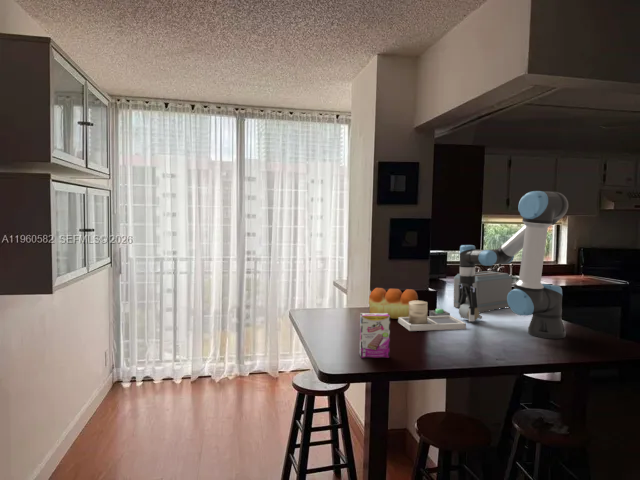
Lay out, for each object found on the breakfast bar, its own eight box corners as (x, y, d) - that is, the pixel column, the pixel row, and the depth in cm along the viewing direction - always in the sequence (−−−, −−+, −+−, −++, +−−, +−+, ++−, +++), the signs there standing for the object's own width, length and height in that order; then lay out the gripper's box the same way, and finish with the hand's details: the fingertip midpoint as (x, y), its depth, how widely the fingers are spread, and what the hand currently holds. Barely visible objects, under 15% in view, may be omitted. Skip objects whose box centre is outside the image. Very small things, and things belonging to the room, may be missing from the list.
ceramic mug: (467, 321, 217) (468, 306, 217) (458, 318, 225) (458, 303, 225) (485, 320, 220) (486, 305, 220) (475, 317, 228) (476, 302, 228)
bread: (418, 315, 238) (418, 288, 237) (415, 320, 226) (415, 292, 225) (373, 312, 246) (373, 286, 245) (368, 317, 234) (368, 289, 233)
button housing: (449, 319, 226) (449, 313, 226) (435, 320, 225) (435, 313, 225) (443, 316, 234) (443, 310, 234) (429, 317, 233) (429, 310, 233)
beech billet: (430, 324, 209) (430, 304, 208) (411, 325, 208) (411, 304, 208) (423, 320, 218) (424, 300, 217) (406, 320, 217) (406, 300, 216)
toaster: (448, 308, 257) (448, 273, 256) (486, 302, 273) (486, 270, 272) (473, 314, 240) (473, 277, 239) (512, 308, 257) (512, 273, 256)
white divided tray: (465, 328, 208) (465, 323, 208) (409, 331, 204) (409, 325, 204) (450, 320, 224) (450, 315, 224) (398, 322, 220) (398, 317, 220)
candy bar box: (360, 358, 164) (361, 315, 163) (359, 354, 169) (359, 312, 168) (390, 358, 164) (390, 315, 163) (387, 354, 169) (388, 312, 168)
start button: (444, 317, 228) (444, 310, 227) (437, 317, 227) (437, 310, 227) (441, 315, 232) (441, 308, 231) (434, 316, 231) (434, 308, 231)
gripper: (485, 277, 211) (484, 323, 212) (464, 272, 232) (464, 314, 233) (470, 277, 210) (470, 324, 211) (451, 273, 231) (451, 315, 232)
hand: (467, 319), depth 222 cm, fingers closed on ceramic mug, 8 cm apart
